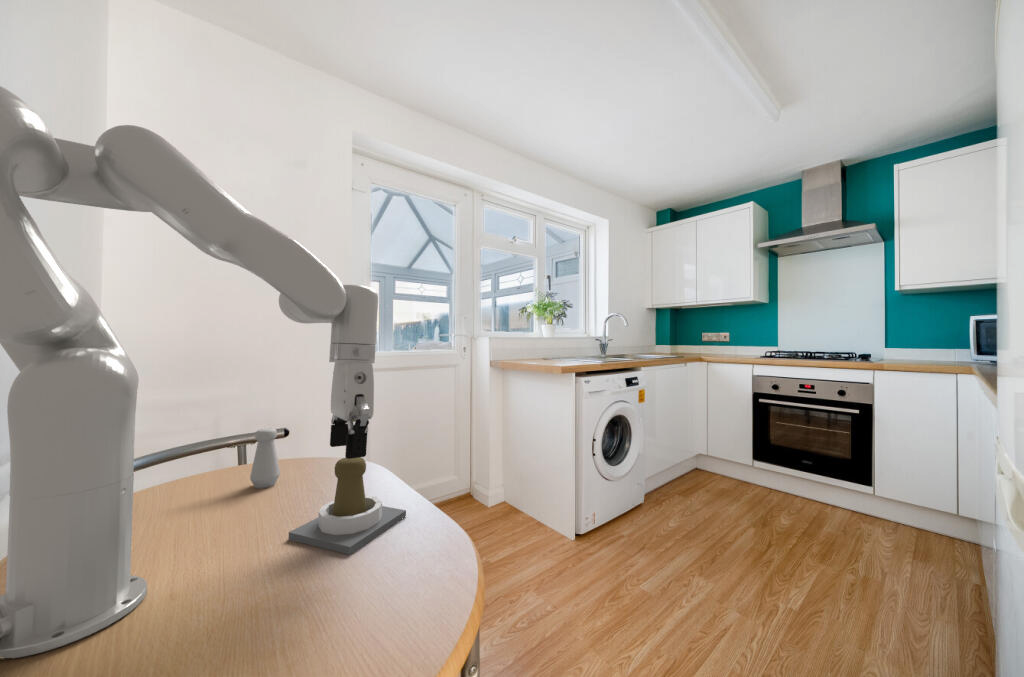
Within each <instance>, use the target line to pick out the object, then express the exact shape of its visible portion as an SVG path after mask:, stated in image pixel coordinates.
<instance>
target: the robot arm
mask: <svg viewBox="0 0 1024 677" xmlns="http://www.w3.org/2000/svg"><path fill="white" fill-rule="evenodd" d="M21 197H23V198H30V199H36V200H42V201H49V202H56V203H66V204H72V205H80V206H85V207H87V206H88V207H94V208H103V209H110V210H119V211H128V212H137V213H138V212H139V213H140V212H141V213H152V214H153V215H155V217H157V218H158V219H160V220H161V221H163V223H165V224H166V225H167V226H169V227H170V228H171V229H173V230H174V231H176V232H177V233H178V234H179V235H181V237H183V238H184V239H185V240H187V241H188V242H189V243H191V244H192V245H193V246H195V247H196V248H197V249H198V250H200V252H202V253H204V254H206V255H208V256H210V257H212V258H214V259H216V260H219V261H222V262H226V263H229V264H232V265H235V266H238V267H240V268H241V269H245V270H246V271H248V272H250V273H252V274H253V275H255V276H256V277H258V278H259V279H261V280H262V281H264V282H266V284H268V285H270V286H271V287H272V288H273V289H275V291H277V292H279V296H278V307H279V309H280V311H281V312H282V313H283V315H284V316H285V317H287V318H288V319H290V320H291V321H293V322H296V323H299V324H308V325H309V324H331V329H330V330H331V331H330V345H329V348H330V349H329V359H328V360H329V363H334V367H333V372H332V383H331V392H330V394H331V395H330V413H331V414H332V417H331V419H330V420H331V425H330V435H329V436H330V439H329V446H330V447H332V448H336V447H345V453H344V454H345V455H344V456H345V457H344V458H347V459H352V458H359V457H361V458H365V457H366V456H367V445H368V431H369V427H368V425H369V424H370V421H369V420H371V419H373V417H374V412H375V411H374V406H375V402H374V401H375V385H374V384H375V383H374V382H375V381H374V380H375V379H374V366H373V364H375V363H376V362H375V360H376V347H377V346H376V343H377V342H376V340H377V325H378V309H379V308H378V307H379V294H378V292H377V290H375V289H374V288H372V287H368V286H365V285H358V284H342V282H341V280H340V279H339V278H338V276H336V274H334V272H332V270H331V269H329V267H327V266H326V265H325V264H324V263H323V262H321V261H320V259H318V258H317V257H316V256H315V255H314V254H313V253H311V251H309V250H308V249H307V248H305V247H304V246H303V245H302V244H300V243H299V242H298V241H296V240H295V239H293V238H292V237H290V236H289V235H287V234H285V233H284V232H282V231H281V230H278V229H277V228H275V227H274V226H271V224H269V223H268V222H266V221H264V220H261V219H260V218H258V217H256V216H255V215H254V214H252V213H251V212H249V211H248V210H247V209H246V208H245V207H244V206H242V205H241V204H240V203H239V202H238V201H237V200H235V198H233V197H232V196H231V195H230V194H228V193H227V191H225V190H224V188H222V187H221V186H219V185H218V184H217V183H216V182H215V181H214V180H212V178H210V177H209V176H208V175H207V174H206V173H205V172H204V171H202V169H200V168H199V167H198V166H197V165H196V164H195V163H194V162H192V161H191V160H190V159H189V158H188V157H187V156H185V154H183V153H182V152H180V150H178V149H177V148H176V147H175V146H173V145H172V144H171V142H169V141H167V140H166V139H165V138H164V137H162V136H161V135H159V134H157V133H156V132H154V131H152V130H151V129H148V128H145V127H143V126H139V125H131V124H125V125H117V126H116V125H115V126H113V127H110V128H109V129H107V130H106V131H104V132H103V133H102V134H101V135H99V136H98V138H97V140H96V141H95V144H94V145H90V144H84V143H80V142H76V141H73V140H72V141H70V140H65V139H61V138H57V137H54V136H53V134H52V132H51V130H50V129H49V127H48V125H47V124H46V122H45V121H44V120H43V119H42V117H40V116H39V114H38V113H37V112H36V111H35V110H34V109H33V108H32V107H31V106H29V105H28V104H27V103H26V101H24V100H22V99H21V98H20V97H19V96H17V95H16V94H14V93H13V92H11V91H10V90H8V89H7V88H5V87H3V86H1V85H0V345H1V347H2V348H3V350H4V351H5V353H6V354H7V355H8V357H9V358H10V360H11V361H12V362H13V364H14V365H15V367H16V368H17V370H18V371H19V373H18V374H17V376H16V377H15V378H14V380H13V382H12V384H11V386H10V389H9V392H8V397H7V405H6V406H7V410H6V411H7V426H8V435H9V436H8V437H9V447H10V448H9V450H10V451H9V452H10V453H9V454H10V459H9V460H10V461H9V462H10V466H9V467H10V469H9V470H10V473H9V506H8V507H9V508H8V510H9V512H8V530H7V531H8V532H7V534H8V536H7V554H6V557H7V558H6V577H5V593H3V594H1V595H0V657H1V658H2V657H3V658H12V659H16V658H24V657H29V656H32V655H36V654H41V653H45V652H48V651H50V650H54V649H58V648H61V647H63V646H66V645H69V644H71V643H74V642H76V641H78V640H81V639H83V638H86V637H88V636H91V635H92V634H95V633H97V632H98V631H101V630H102V629H104V628H106V627H109V626H110V625H112V624H113V623H115V622H117V621H119V620H120V619H122V618H123V617H124V616H126V615H127V614H129V613H131V611H133V610H134V609H135V608H136V607H138V605H140V603H141V602H142V601H143V600H144V598H145V597H146V595H147V590H148V589H147V588H148V582H147V581H146V579H144V578H143V577H141V576H137V575H133V574H131V571H132V570H131V568H132V565H131V564H132V540H133V539H132V536H133V534H132V533H133V510H134V509H133V508H134V506H133V505H134V482H135V477H134V476H135V472H134V471H135V470H134V469H135V468H134V466H135V463H134V462H135V436H136V434H135V433H136V428H135V427H136V409H137V398H138V388H139V383H140V382H139V381H140V380H139V374H138V371H137V369H136V367H135V365H134V364H133V362H132V361H131V359H130V357H129V355H128V353H127V352H126V351H125V349H124V347H123V345H121V342H120V341H119V339H118V337H117V336H116V334H115V333H114V331H113V329H112V327H111V325H109V323H108V321H107V319H106V317H105V316H104V315H103V313H102V311H101V310H100V308H99V306H98V305H97V303H96V301H95V300H94V299H93V297H92V295H91V294H90V293H89V291H87V290H86V289H85V287H84V286H83V285H81V283H79V282H78V281H77V280H76V279H74V278H73V277H72V276H71V275H70V274H69V273H68V272H67V270H66V269H65V268H64V266H63V265H62V264H61V262H60V260H58V258H57V257H56V255H55V254H54V252H53V250H52V248H51V247H50V246H49V244H48V242H47V241H46V239H45V238H44V236H43V234H42V233H41V231H40V229H39V226H38V224H37V223H36V221H35V220H34V217H33V216H32V215H31V213H30V212H29V211H28V209H27V207H26V206H25V204H24V202H23V201H22V198H21Z"/></svg>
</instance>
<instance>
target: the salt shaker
mask: <svg viewBox="0 0 1024 677" xmlns="http://www.w3.org/2000/svg"><path fill="white" fill-rule="evenodd" d="M277 431H278V430H277V429H276V428H274V427H273V428H272V427H266V428H265V427H264V428H259V429H258V430H256V431H255V434H254V439H255V441H257V444H256V449H255V452H254V453H255V454H254V459H253V464H252V467H251V471H250V477H249V479H250V480H249V481H250V482H251V483H252V484H253V487H254V488H255V489H267V488H271V487H274V485H275V484H276V483H277V480H278V479H279V477H280V474H281V471H280V470H281V469H280V464H279V459H278V454H277V449H276V444H275V439H276V438H277V436H278V432H277Z"/></svg>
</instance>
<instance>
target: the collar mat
mask: <svg viewBox="0 0 1024 677" xmlns="http://www.w3.org/2000/svg"><path fill="white" fill-rule="evenodd" d="M365 500H366V508H367V511H366V512H364V513H361V514H357V515H353V516H342V517H337V516H332V513H333V506H334V500H330V502H327V503H325V504H324V505H323V506H322V507H320V509H319V510H318V516H317V517H316V518H314V519H313V520H310V521H308V522H306V523H304V524H302V525H301V526H298V527H295V528H294V529H292V530H290V531H288V540H289V541H292V542H297V543H300V544H304V545H309V546H311V547H312V546H313V547H317V548H320V549H325V550H328V551H333V552H335V553H337V552H338V553H341V554H345V555H352V554H353V553H355V552H357V551H358V550H360V549H361V548H362V547H364V546H366V545H367V544H368V543H370V542H371V541H373V540H374V539H376V538H377V537H378V536H380V535H382V534H383V533H384V532H385V531H388V530H389V529H390V528H391V526H392V527H393V526H395V525H396V524H397V522H398V521H399V522H400V521H402V520H403V519H405V518H406V517H407V510H406V509H401V508H396V507H392V506H391V507H390V506H384V505H383V501H382V500H381V499H380V498H379V497H377V496H373V495H368V494H367V495H366V494H365ZM405 516H406V517H405ZM404 517H405V518H404ZM402 518H403V519H402ZM401 519H402V520H401ZM399 522H398V523H399ZM394 524H395V525H394Z"/></svg>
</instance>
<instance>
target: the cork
mask: <svg viewBox="0 0 1024 677" xmlns="http://www.w3.org/2000/svg"><path fill="white" fill-rule="evenodd" d="M366 471H367V463H366V460H365V459H364V457H359V458H352V459H347V458H346V457H343V458H340V459H339V460H338V461H336V463H335V465H334V476H335V477H336V479H337V481H336V489H335V495H334V500H333V501H334V506H333V513H332V516H337V517H342V516H353V515H357V514H361V513H364V512H366V511H367V508H366V500H365V495H366V493H365V486H364V477H363V476H364V474H365V473H366Z"/></svg>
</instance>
